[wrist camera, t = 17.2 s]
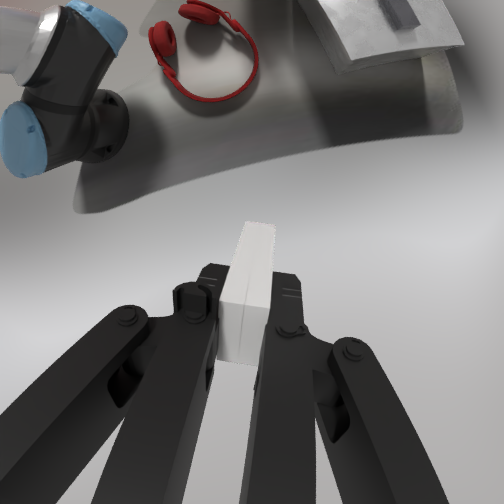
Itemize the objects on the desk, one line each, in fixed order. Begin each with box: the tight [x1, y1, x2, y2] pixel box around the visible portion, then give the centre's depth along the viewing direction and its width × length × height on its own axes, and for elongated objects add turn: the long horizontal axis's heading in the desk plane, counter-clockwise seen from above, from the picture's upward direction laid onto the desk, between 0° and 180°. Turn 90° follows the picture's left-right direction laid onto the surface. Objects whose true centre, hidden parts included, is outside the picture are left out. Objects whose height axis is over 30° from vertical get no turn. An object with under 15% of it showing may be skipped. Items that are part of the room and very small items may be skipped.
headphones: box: [148, 0, 258, 102], centre depth 35 cm, size 15×7×20 cm
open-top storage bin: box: [297, 0, 455, 75], centre depth 26 cm, size 18×18×12 cm
